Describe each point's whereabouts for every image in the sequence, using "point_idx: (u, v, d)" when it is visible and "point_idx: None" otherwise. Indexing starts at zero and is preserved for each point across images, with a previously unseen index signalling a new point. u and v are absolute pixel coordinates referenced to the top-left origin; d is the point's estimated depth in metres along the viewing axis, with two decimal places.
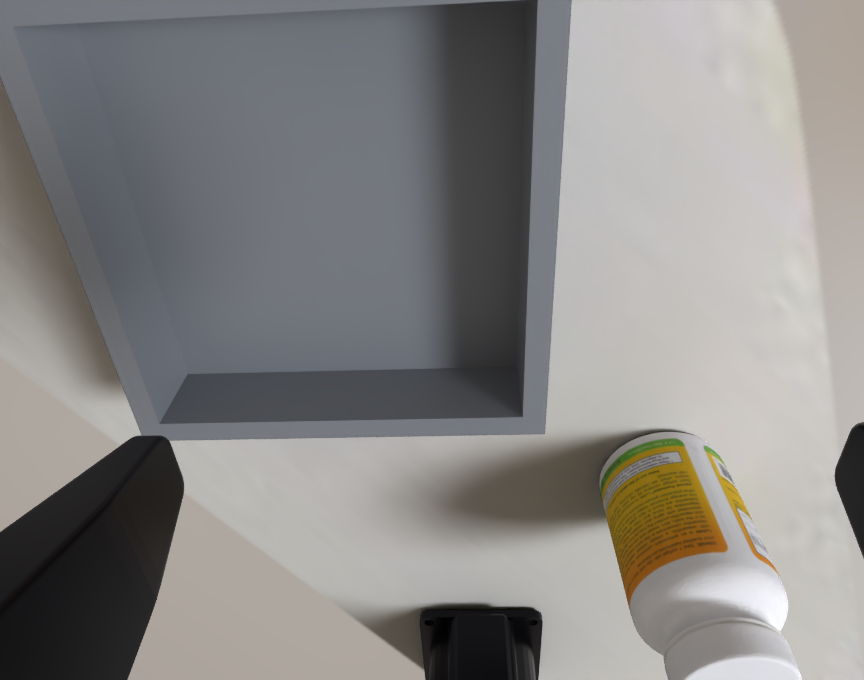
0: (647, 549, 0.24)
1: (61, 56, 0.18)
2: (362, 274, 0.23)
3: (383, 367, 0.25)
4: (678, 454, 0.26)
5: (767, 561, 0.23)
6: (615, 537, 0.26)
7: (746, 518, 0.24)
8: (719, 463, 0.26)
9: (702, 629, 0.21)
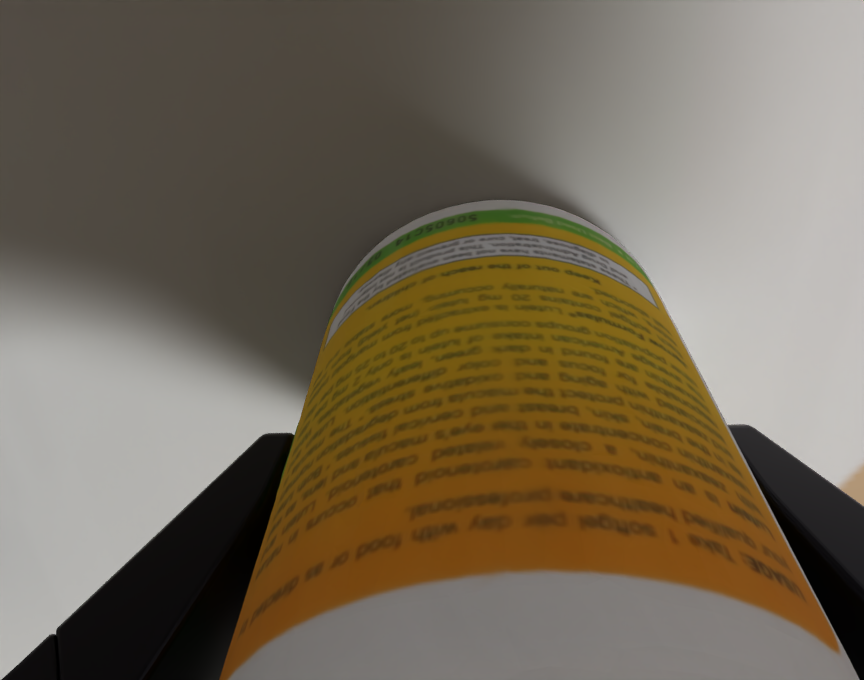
0: (495, 466, 0.05)
1: None
2: None
3: None
4: (649, 290, 0.08)
5: None
6: (339, 387, 0.07)
7: None
8: None
9: None
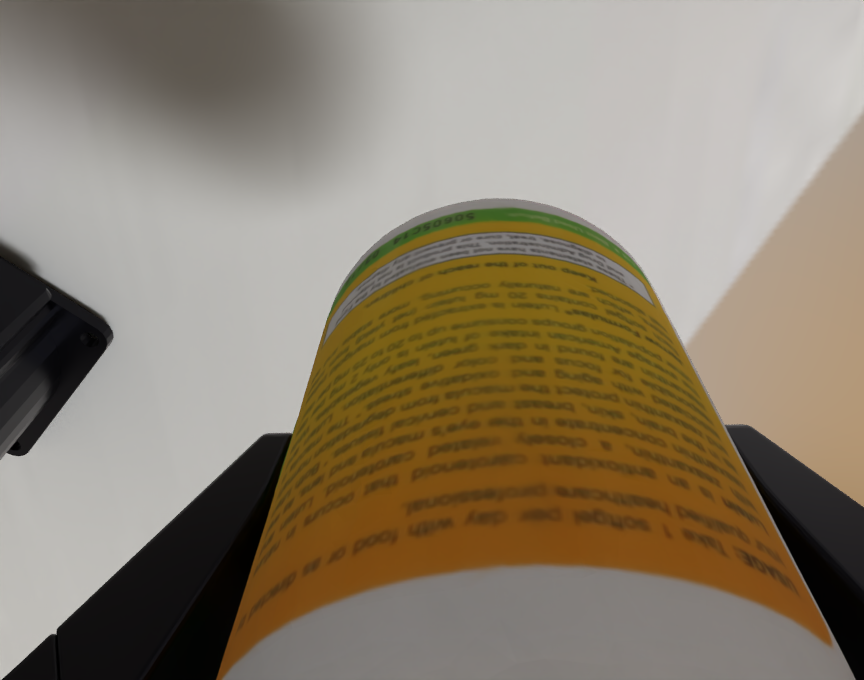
0: (491, 462, 0.05)
1: None
2: None
3: None
4: (645, 288, 0.08)
5: None
6: (337, 385, 0.07)
7: None
8: None
9: None
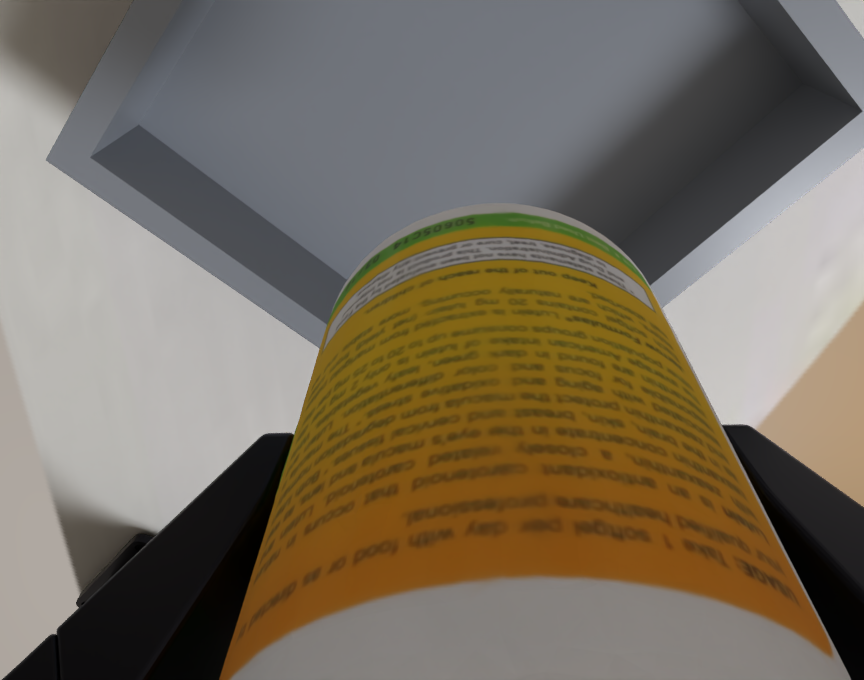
0: (490, 472, 0.05)
1: None
2: (433, 186, 0.19)
3: None
4: (645, 294, 0.08)
5: None
6: (337, 391, 0.07)
7: None
8: None
9: None
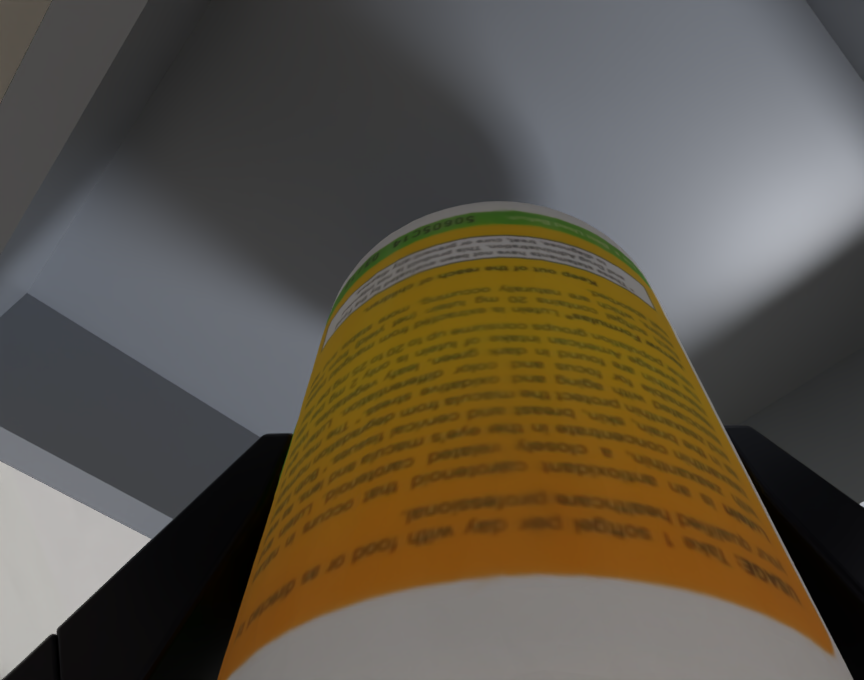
0: (490, 468, 0.05)
1: None
2: None
3: None
4: (645, 292, 0.08)
5: None
6: (337, 389, 0.07)
7: None
8: None
9: None
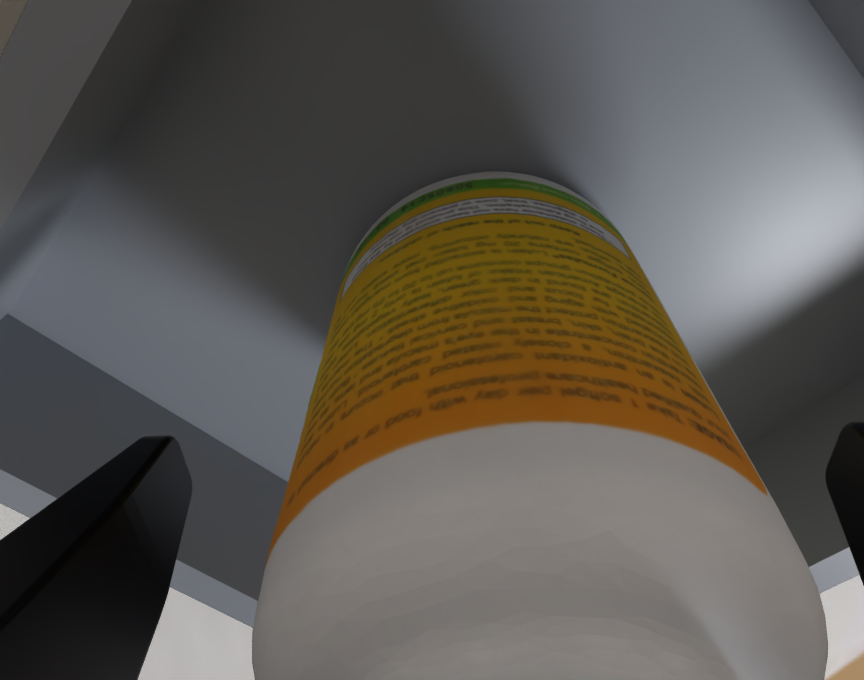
0: (494, 358, 0.06)
1: None
2: None
3: None
4: (622, 245, 0.09)
5: None
6: (359, 321, 0.08)
7: None
8: None
9: None
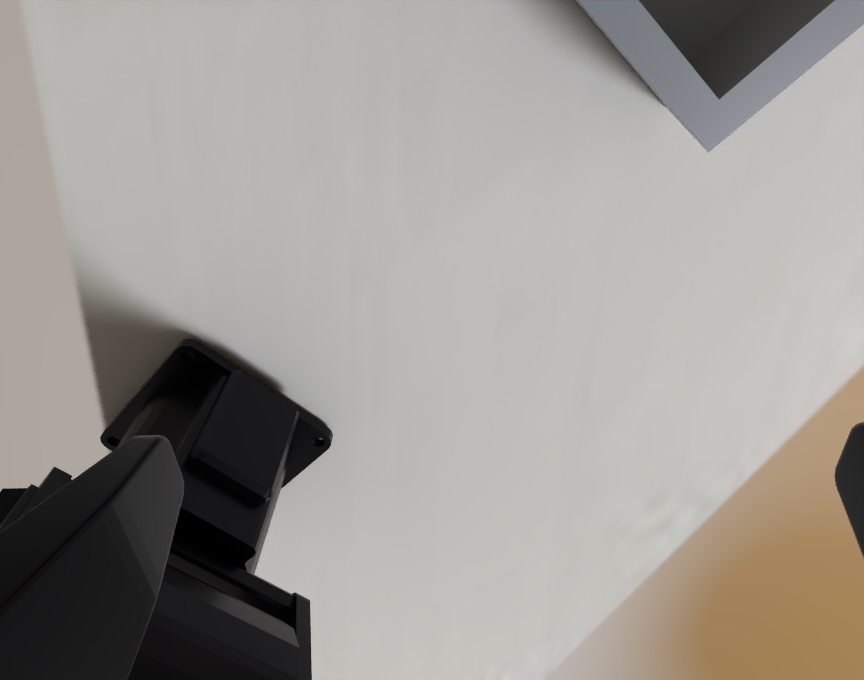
0: None
1: None
2: None
3: None
4: None
5: None
6: None
7: None
8: None
9: None
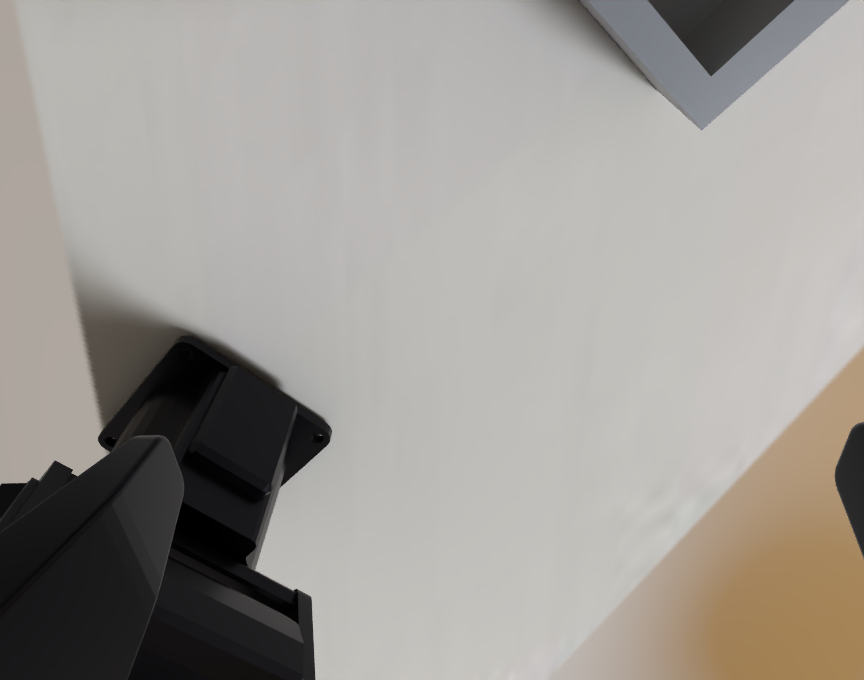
0: None
1: None
2: None
3: None
4: None
5: None
6: None
7: None
8: None
9: None
